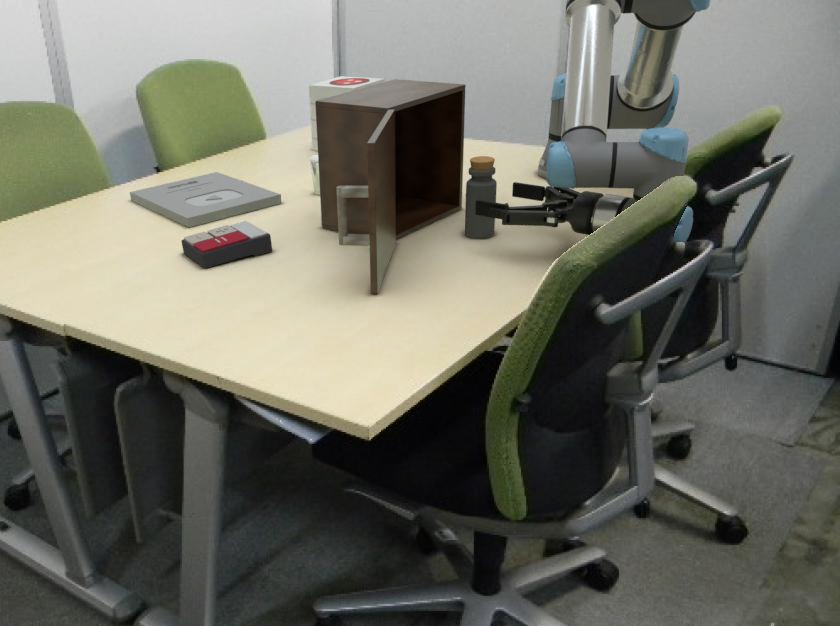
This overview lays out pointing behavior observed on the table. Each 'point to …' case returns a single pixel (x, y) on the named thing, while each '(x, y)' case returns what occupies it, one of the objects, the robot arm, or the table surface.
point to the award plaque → (204, 198)
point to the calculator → (226, 244)
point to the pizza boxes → (332, 89)
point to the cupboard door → (375, 201)
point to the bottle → (480, 197)
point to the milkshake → (315, 173)
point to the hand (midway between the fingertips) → (495, 197)
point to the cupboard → (414, 151)
